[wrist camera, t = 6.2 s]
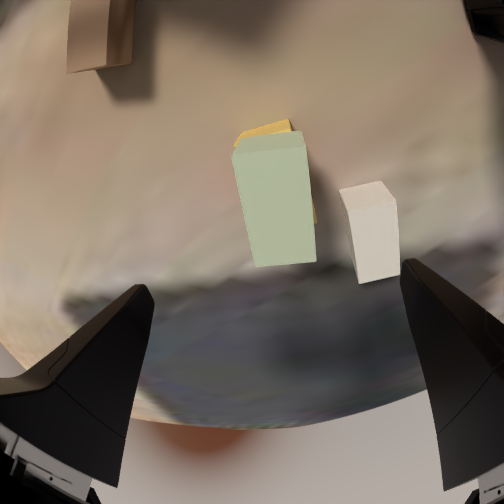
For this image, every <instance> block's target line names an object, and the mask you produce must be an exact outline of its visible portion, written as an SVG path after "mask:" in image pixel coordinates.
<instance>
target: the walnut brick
mask: <svg viewBox="0 0 504 504" xmlns="http://www.w3.org/2000/svg"><path fill="white" fill-rule="evenodd" d="M135 5H136V0H71V5H70V15H69V26H68V43H67V74H69V73H76V72H82V71H90V70H97V69H102V68H107V67H113V66H119V65H126V64H132V48H133V29H134V16H135Z"/></svg>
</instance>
